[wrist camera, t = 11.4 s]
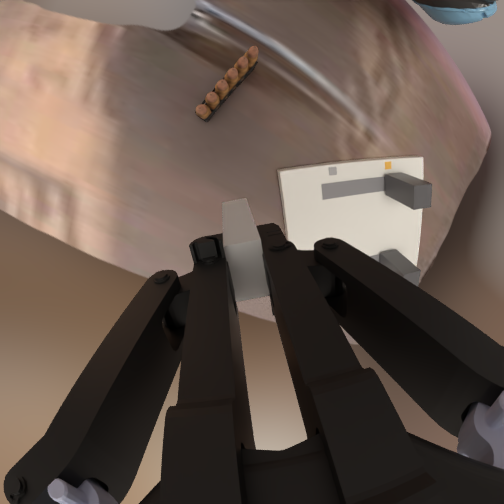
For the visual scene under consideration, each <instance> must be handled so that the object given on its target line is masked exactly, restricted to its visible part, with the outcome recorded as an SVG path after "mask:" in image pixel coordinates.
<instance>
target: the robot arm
mask: <svg viewBox="0 0 504 504" xmlns="http://www.w3.org/2000/svg"><path fill="white" fill-rule="evenodd" d="M413 1H414V2H415V3H416V4H418V5H419V6H420V7H421V8H422V9H423V10H424V11H425V12H426V13H427V14H428V15H429V16H430V17H431V18H432V19H434V20H435V21H438V22H440V23H443V24H450V25H460V24H467V23H473V22H477V21H481V20H482V18H488V17H490V16H492V15H493V14H494V13H495V12H496V10H497V5H496V0H413ZM222 219H223V233H222V234H216V235H211V236H204V237H201V238H198V239H196V240H194V241H193V242H191V243H190V245H189V247H190V251H191V254H192V258H193V261H194V268H193V271H192V272H190V273H188V274H186V275H183V276H180V277H178V275H177V273H176V271H173V270H162V271H160V272H156V273H155V274H154V275H152V276H151V277H150V278H149V279H148V280H147V281H146V282H145V284H144V285H143V286H142V288H141V289H140V290H139V292H138V293H137V294H136V296H135V297H134V298H133V300H132V301H131V302H130V304H129V305H128V307H127V308H126V309H125V311H124V312H123V313H122V315H121V316H120V318H119V319H118V321H117V322H116V323H115V325H114V326H113V327H112V329H111V330H110V332H109V333H108V334H107V336H106V337H105V339H104V340H103V342H102V343H101V345H100V346H99V348H98V349H97V351H96V352H95V354H94V355H93V357H92V358H91V360H90V361H89V363H88V364H87V366H86V367H85V369H84V370H83V372H82V373H81V375H80V376H79V378H78V380H77V381H76V383H75V384H74V386H73V387H72V389H71V391H70V392H69V394H68V396H67V397H66V399H65V401H64V402H63V404H62V406H61V407H60V409H59V411H58V413H57V414H56V416H55V417H54V419H53V421H52V423H51V424H50V426H49V428H48V430H47V432H46V433H45V435H44V436H43V437H42V438H41V439H40V440H39V441H38V442H37V443H36V444H35V445H34V446H33V447H32V448H31V449H30V450H29V451H28V452H27V453H26V454H25V455H24V456H23V457H22V458H21V459H20V460H19V461H18V462H17V463H16V465H14V466H13V467H12V468H11V469H10V471H9V472H8V474H7V475H6V476H5V480H4V493H5V496H6V498H7V500H8V501H9V503H10V504H120V503H121V502H122V500H123V499H124V497H125V496H126V494H127V493H128V491H129V489H130V488H131V486H132V483H133V481H134V479H135V476H136V474H137V471H138V468H139V466H140V463H141V461H142V458H143V455H144V453H145V450H146V447H147V445H148V442H149V439H150V437H151V434H152V432H153V429H154V427H155V424H156V421H157V419H158V416H159V414H160V411H161V409H162V406H163V404H164V401H165V399H166V396H167V394H168V391H169V389H170V386H171V384H172V381H173V378H174V376H175V374H176V371H177V369H178V367H179V364H180V362H181V370H180V379H179V390H178V401H177V404H176V406H170V407H169V408H168V410H167V412H166V417H165V427H164V438H163V451H162V466H161V481H160V482H159V483H158V484H157V485H156V486H155V487H154V488H153V489H152V490H151V491H150V492H149V493H148V494H147V495H146V497H145V498H144V499H143V500H142V501H141V502H140V503H139V504H504V347H503V346H501V345H499V344H498V343H497V342H495V341H494V340H493V339H491V338H490V337H489V336H487V335H486V334H484V333H483V332H482V331H481V330H479V329H478V328H477V327H475V326H474V325H472V324H471V323H470V322H468V321H467V320H465V319H464V318H463V317H461V316H460V315H458V314H457V313H456V312H454V311H453V310H451V309H450V308H448V307H447V306H446V305H444V304H443V303H441V302H440V301H438V300H437V299H435V298H434V297H432V296H431V295H429V294H428V293H426V292H425V291H423V290H422V289H420V288H419V287H417V286H416V285H414V284H413V283H411V282H410V281H408V280H407V279H405V278H403V277H402V276H400V275H399V274H397V273H396V272H394V271H392V270H391V269H389V268H388V267H386V266H384V265H383V264H381V263H380V262H378V261H376V260H375V259H373V258H371V257H370V256H368V255H367V254H365V253H363V252H362V251H360V250H358V249H357V248H355V247H353V246H352V245H350V244H348V243H346V242H345V241H343V240H341V239H337V238H333V237H330V238H329V237H328V238H325V239H321V240H318V241H316V242H315V243H314V250H297V248H296V246H295V245H294V244H293V243H292V242H290V241H287V240H286V238H285V236H284V234H283V232H282V231H281V229H280V227H279V226H278V225H276V224H274V223H270V224H264V225H259V226H256V224H255V221H254V218H253V216H252V213H251V210H250V207H249V204H248V201H247V199H246V198H242V199H237V200H232V201H227V202H222ZM265 296H270V300H271V306H272V313H273V315H275V319H276V323H277V326H278V330H279V334H280V337H281V341H282V345H283V348H284V352H285V356H286V359H287V363H288V366H289V370H290V374H291V378H292V381H293V385H294V388H295V392H296V396H297V400H298V403H299V407H300V411H301V415H302V418H303V422H304V426H305V429H306V433H307V440H305V441H303V442H301V443H299V444H296V445H294V446H292V447H290V448H288V449H285V450H281V451H272V450H256V447H255V442H254V436H253V429H252V421H251V414H250V406H249V399H248V391H247V384H246V376H245V368H244V359H243V351H242V343H241V334H240V326H239V318H238V308H237V304H236V302H239V301H244V300H249V299H254V298H260V297H265ZM235 299H236V300H235ZM162 322H163V323H162ZM340 326H341V327H342V328H343V329H344V330H345V331H346V332H347V333H348V334H349V335H350V336H351V337H352V338H353V339H354V340H355V341H356V342H357V343H358V344H359V345H360V346H361V347H362V348H363V349H364V350H365V351H366V352H367V353H368V354H369V355H370V356H371V357H372V358H373V359H374V360H375V361H376V362H377V363H378V364H379V365H380V366H381V367H382V368H383V369H384V370H385V371H386V372H387V373H388V374H389V375H390V376H391V377H392V378H393V379H394V380H395V381H396V382H397V383H398V384H399V385H400V386H401V387H402V388H403V389H404V391H406V393H407V394H408V395H409V396H410V397H411V398H412V399H413V400H414V401H415V402H416V403H417V404H418V405H419V406H420V407H421V408H422V409H423V410H424V411H425V412H426V413H427V414H428V415H429V416H430V417H431V418H432V419H433V420H434V421H435V422H436V423H437V424H438V425H439V426H441V427H442V428H443V429H445V430H446V431H448V432H449V433H450V434H452V435H454V436H456V437H458V442H459V443H458V446H457V452H458V453H456V452H453V451H451V450H448V449H445V448H443V447H441V446H438V445H436V444H434V443H431V442H429V441H427V440H424V439H422V438H420V437H418V436H415V435H413V434H410V433H408V432H406V429H405V427H404V425H403V423H402V421H401V419H400V417H399V415H398V413H397V412H396V410H395V408H394V406H393V404H392V402H391V400H390V398H389V396H388V394H387V392H386V390H385V388H384V386H383V384H382V383H381V381H380V379H379V377H378V375H377V374H376V372H375V371H374V370H373V369H371V368H370V367H369V368H366V369H364V368H362V367H361V365H360V363H359V361H358V359H357V358H356V356H355V353H354V352H353V350H352V348H351V346H350V344H349V342H348V340H347V338H346V336H345V334H344V333H343V331H342V329H341V327H340Z"/></svg>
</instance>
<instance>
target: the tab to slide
mask: <svg viewBox="0 0 504 504" xmlns="http://www.w3.org/2000/svg"><path fill="white" fill-rule="evenodd" d="M385 195H387V196H388V197H390V198H392V199H394V200H396V201H398V202H400V203H402V204H404V205H405V206H407V207H409V208H411V209H413V210H416V209H422V208H428V207H431V196H432V184H431V183H429V182H426V181H424V180H421V179H418V178H416V177H413V176H410V175H408V174H405V173H402V172H400V173H389V174H385Z"/></svg>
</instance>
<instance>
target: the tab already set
mask: <svg viewBox="0 0 504 504" xmlns="http://www.w3.org/2000/svg"><path fill="white" fill-rule="evenodd" d="M380 263H381V264H383V265H384V266H386V267H388V268H389V269H391V270H392V271H394V272H396V273H397V274H399V275H400V276H402V277H403V278H405V279H407V280H408V281H410V282H411V283H413V284H414V285H416V286H417V287H418V283H419V277H420V271H421V270H420V269H419V268H417V267H416V266H415V265H414V264H413V263H412V262H411V261H409V260H408V259H407V258H406V257H405V256H404V255H402V254H401V253H400V252H399V251H398V250H396V249H395V250H390V251H386V252H382V253H380Z"/></svg>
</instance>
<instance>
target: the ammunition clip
mask: <svg viewBox="0 0 504 504" xmlns="http://www.w3.org/2000/svg"><path fill="white" fill-rule="evenodd" d="M257 58H258V47H257V46H252V47H250V48H249V49H248V51H247V52H246V53H245V54H244V56H243V57H241V58H239V59H238V61H237V62H236V63H235V65H234V67H233V68H230V69H229V70H228V72H227V73H226V74H225V77H224V78H223V79H221V80H219V81H218V82H217V84H216V86H215V88H214V90H213V91H212V92H209V93H208V94H207V96H206V98H205V100H204V101H203V103H202V104H200V105H198V106H197V107H196V111H195V113H196V115H197V116H198V117H200V118H201V119H202V120H204V121H205V122H208V121H209V120H210V118H211V117H212V116H213V115H214V114H215V112H216V111H217V110H218V109H219V108H220V106H221V105H222V104H223V103H224V102H225V101H226V99H227V98H228V97H229V96H230V95H231V94H232V93H233V91H234V90H235V89H236V88H237V87H238V86H239V85H240V84H241V83H242V81H243V80H244V79H245V78H246V77H247V76H248V75H249V74H250V73H251V72H252V71H253V70H254V68H255V66H256V64H257V63H258V62H257ZM214 91H215V93H214ZM205 102H206V104H204V103H205Z"/></svg>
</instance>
